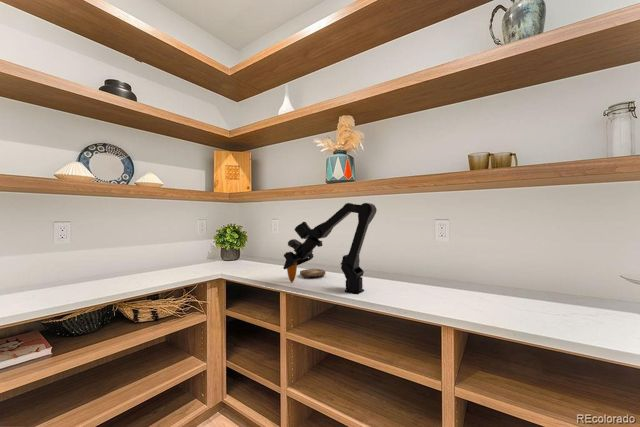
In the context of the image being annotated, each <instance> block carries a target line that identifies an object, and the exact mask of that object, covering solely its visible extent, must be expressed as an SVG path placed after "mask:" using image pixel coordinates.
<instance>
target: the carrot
mask: <svg viewBox="0 0 640 427" xmlns="http://www.w3.org/2000/svg"><path fill="white" fill-rule="evenodd" d="M294 254H295V255H296V252H294ZM297 266H298V265H297V263H296V264H295V265H293V266H291V267H289V268H287V269H286V270H287V276H288V280H289V281H290V282H291V283H294V281H295V279H296V277H297V276H296V275H297Z"/></svg>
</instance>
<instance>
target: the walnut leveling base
mask: <svg viewBox="0 0 640 427" xmlns="http://www.w3.org/2000/svg"><path fill="white" fill-rule="evenodd" d="M299 275H300V276H304V279H311V277H318V278H323V277H324V275H326V270H324V269H317V268H307V269H302V270H299Z"/></svg>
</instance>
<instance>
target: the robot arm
mask: <svg viewBox="0 0 640 427" xmlns="http://www.w3.org/2000/svg"><path fill="white" fill-rule="evenodd" d="M377 211H378V210H377V207H376V205H375V204H373V203H369V202H363V203H361V204H356V203H352V202H347V203H344V205H343V206H342V207H341V208H340V209H338V211H336V212H335V213H334V214H333V215H331V216H330V217H329V218H328V219H327V220H326V221H323V222H322V223H320V224H318V225H316V226H314V227H313V228H311V227H310V226H309V225H308V223H307V222H306V221H302V222H301V223H299V224H298V225H297V226H295V228H294V231H295V233H296V234H297V235H298V237H299V238H300V239H301V240H304V241H303V242H301V241H299V240H297V239H295V238H294V239H292V238H291V239H290V240H288V241H287V246H288V247H289V248H292V249H293V251H287V252H285V253H284V254H283V257H284V258H285V263H284V265H283V267H282V269H283V270H287V268H289V267H291V266H293V265H295V264H296V263H297V266H299V265H301V264H302V265H303V264H304V263H307V262H309V261H311V260H313V258H314V254H313V252H314V249H315V248H316V247H318V248H319V247H320V248H321V247H323V240H320V239H325V238H327V237H328V236H330V234H331V232H332V231H333V229H334V227H336V226H337V225H338V224H340V223H341V222H342V221H344V219H346V217H348V216H349V215H350V214H351V213H356V214H357V220H358V222H357V226H356V229H355V233H354V235H353V239H352V241H351V242H352V243H351V245H350V249H349V251H348V254H344V255H343V256H342V260H341V263H340V266H341V267H340V269H341V270H342V273H343V275H344V278H345V290H344V292H345V293H350V294H356V295H357V294H358V295H359V294H361V293H363V292H364V291H365V289H364V288H363V275H364V273H365V271H364V270H363V269H362V268H361V266H360V261H361V260H360V254H361V251H362V248H363V243H364V240H365V237H366V235H367V231H368V227H369V225H370V223H371V222H372V221H373V219H374V217H375V216H376V213H377ZM295 253H296V255H295Z"/></svg>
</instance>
